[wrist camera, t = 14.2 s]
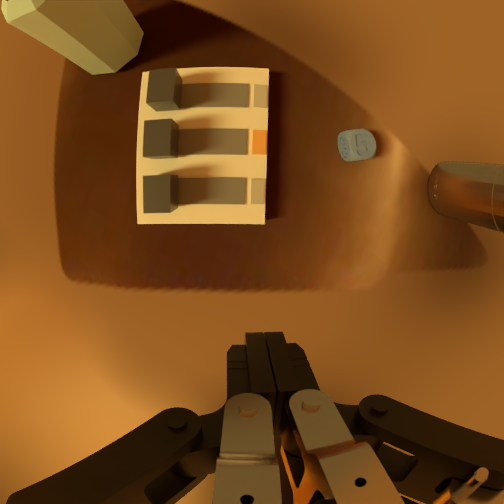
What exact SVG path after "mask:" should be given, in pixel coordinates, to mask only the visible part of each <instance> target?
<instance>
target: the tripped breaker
mask: <svg viewBox="0 0 504 504" xmlns="http://www.w3.org/2000/svg"><path fill="white" fill-rule="evenodd" d="M178 139H179V125H178V124H177V123H176V122H175V121H174V120H173V119H172V118H171V119H156V120H145V121H144V134H143V157H145V158H150V159H168V158H178Z"/></svg>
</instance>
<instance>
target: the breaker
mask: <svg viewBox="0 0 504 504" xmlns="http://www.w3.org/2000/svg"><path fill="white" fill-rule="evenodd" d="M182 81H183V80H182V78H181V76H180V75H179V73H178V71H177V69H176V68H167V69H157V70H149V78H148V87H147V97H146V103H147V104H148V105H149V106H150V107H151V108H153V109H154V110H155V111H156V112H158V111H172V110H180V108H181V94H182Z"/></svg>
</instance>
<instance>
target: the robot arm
mask: <svg viewBox="0 0 504 504" xmlns="http://www.w3.org/2000/svg"><path fill="white" fill-rule="evenodd" d="M428 194H429V199H430V202H431V204H432V206H433V208H434V209H435V211H436V212H438V213H439V214H441V215H444V216H447V217H451V218H454V219H458V220H461V221H465V222H468V223H471V224H475V225H478V226H482V227H485V228H488V229H491V230H494V231H497V232H500V233H503V234H504V165H501V164H488V163H471V162H440V163H438V164H437V165H436V166H435V167H434V168H433V170H432V172H431V174H430V177H429V181H428ZM274 435H281V439H282V446H281V454H282V457H283V461H284V464H285V468H286V471H287V474H288V477H289V481H290V484H291V487H292V490H293V495H294V504H418V503H416V502H414V501H412V500H409V499H407V498H405V497H403V496H400V495H399V493H401V494H403V495H406V496H408V497H410V498H413V499H415V500H418V501H420V502H423V503H426V504H502V502H503V499H504V440H501V439H498V438H494V437H492V436H488V435H485V434H482V433H479V432H476V431H473V430H470V429H467V428H464V427H462V426H459V425H456V424H453V423H451V422H448V421H445V420H443V419H440V418H437V417H435V416H432V415H430V414H427V413H424V412H422V411H420V410H417V409H415V408H413V407H410V406H408V405H405V404H403V403H401V402H398V401H396V400H394V399H391V398H389V397H387V396H383V395H370V396H367V397H365V398H363V399H362V401H361V402H360V403H359V405H343V404H338V403H335V402H333V401H332V399H331V398H330V397H329V396H328V395H327V394H326V393H324V392H322V391H320V389H319V386H318V384H317V382H316V379H315V377H314V374H313V372H312V369H311V367H310V364H309V362H308V360H307V357H306V355H305V352H304V350H303V349H302V348H301V347H300V346H299V345H297V344H296V343H286V340H285V337H284V334H283V332H264V333H263V332H258V333H245V345H232V346H231V348H230V349H229V350H228V352H227V401H226V403H225V404H224V406H223V407H222V408H220V409H219V410H217V411H216V412H213V413H210V414H206V415H201V416H198V415H197V414H196V413H194V412H193V411H191V410H189V409H185V408H179V407H178V408H170V409H166V410H163V411H162V412H160V413H159V414H157V415H156V416H154V417H153V418H151V419H149V420H148V421H147V422H145V423H143V424H142V425H140V426H139V427H137V428H135V429H134V430H133V431H131V432H129V433H128V434H126V435H124V436H123V437H121V438H119V439H118V440H116V441H115V442H113V443H111V444H109V445H108V446H106V447H104V448H102V449H101V450H99V451H97V452H95V453H94V454H92V455H90V456H88V457H86V458H85V459H83V460H81V461H79V462H78V463H75V464H74V465H72V466H70V467H68V468H66V469H64V470H62V471H60V472H58V473H56V474H54V475H52V476H50V477H48V478H46V479H44V480H42V481H40V482H37V483H35V484H33V485H31V486H29V487H26V488H24V489H22V490H19V491H17V492H15V493H13V494H12V495H10V497H9V498H8V500H7V502H6V504H175V503H176V502H177V501H178V500H180V499H181V498H182V497H183V496H185V495H186V494H187V493H188V492H190V491H191V490H192V489H193V488H194V487H195V486H197V485H198V484H199V483H200V482H201V481H202V480H203V479H205V477H206V476H207V475H208V474H211V473H215V482H214V491H213V501H212V504H282V502H281V489H280V476H279V464H278V459H277V458H275V450H274ZM383 442H386V443H389V444H391V445H393V446H395V447H397V448H400V449H402V450H404V451H407V452H409V453H411V454H413V455H415V456H410V455H407V454H404V453H402V452H400V451H398V450H396V449H393V448H391V447H389V446H387V445H385V444H383ZM398 492H399V493H398Z"/></svg>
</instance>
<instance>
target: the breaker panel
mask: <svg viewBox="0 0 504 504" xmlns="http://www.w3.org/2000/svg"><path fill="white" fill-rule="evenodd" d="M177 71H178V73H179V75H180V76H181V78H182V80H183V81H182V94H181V108H180V110H172V111H158V112H156V111H155V110H154V109H153V108H151V107H150V106H149V105H148V104H147V103H146V97H147V87H148V78H149V72H143V75H142V84H141V93H140V104H139V118H138V135H137V170H136V186H137V223H138V224H265V200H266V169H267V134H268V92H269V69H263V68H243V67H201V68H181V69H177ZM171 118H172V119H173V120H174V121H175V122H176V123H177V124H178V125H179V139H178V158H168V159H150V158H145V157H143V134H144V121H145V120H156V119H171ZM148 175H178V208H177V209H176V210H174V211H173V212H171V213H143V176H148Z"/></svg>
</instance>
